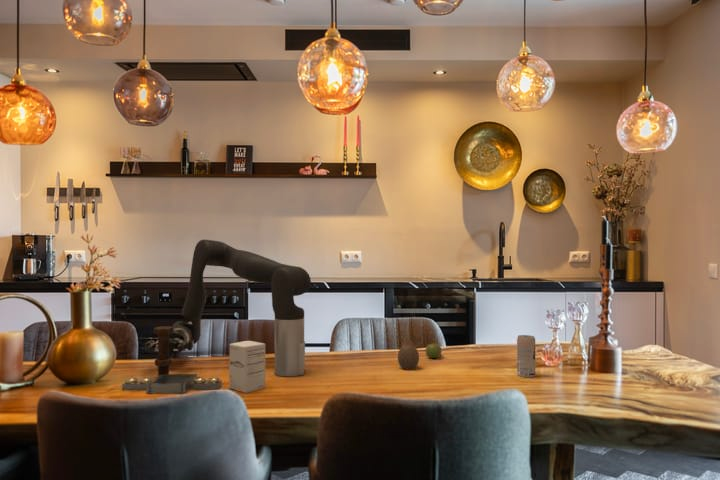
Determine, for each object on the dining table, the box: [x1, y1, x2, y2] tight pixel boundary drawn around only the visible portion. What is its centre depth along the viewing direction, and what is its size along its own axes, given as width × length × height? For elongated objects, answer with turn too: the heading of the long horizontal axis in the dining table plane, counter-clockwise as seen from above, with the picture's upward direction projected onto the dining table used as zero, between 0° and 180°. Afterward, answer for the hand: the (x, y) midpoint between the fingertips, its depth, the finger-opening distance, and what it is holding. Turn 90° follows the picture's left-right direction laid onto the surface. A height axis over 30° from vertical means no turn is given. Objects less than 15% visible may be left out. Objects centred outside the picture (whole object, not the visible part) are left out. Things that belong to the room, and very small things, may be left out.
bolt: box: [152, 325, 174, 377], centre depth 162 cm, size 6×5×15 cm
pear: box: [425, 343, 443, 359], centre depth 190 cm, size 6×5×10 cm
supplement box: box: [228, 340, 266, 394], centre depth 149 cm, size 7×7×13 cm
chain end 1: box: [121, 374, 184, 395], centre depth 149 cm, size 18×11×3 cm, turn 92°
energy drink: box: [516, 334, 536, 379], centre depth 163 cm, size 5×5×12 cm
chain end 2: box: [163, 373, 223, 394], centre depth 149 cm, size 18×11×3 cm, turn 92°
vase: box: [397, 340, 420, 370], centre depth 173 cm, size 7×7×9 cm
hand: (164, 349), depth 163 cm, fingers open, 8 cm apart
